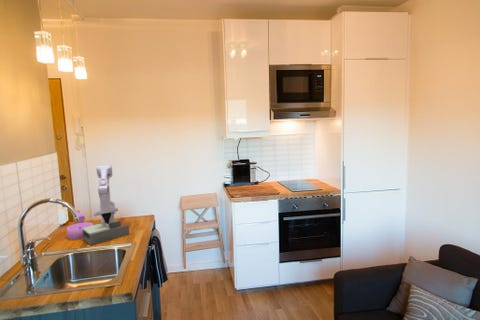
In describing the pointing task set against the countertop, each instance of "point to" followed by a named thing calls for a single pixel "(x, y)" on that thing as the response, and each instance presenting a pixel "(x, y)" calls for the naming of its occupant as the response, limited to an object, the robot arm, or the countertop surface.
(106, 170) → the robot arm
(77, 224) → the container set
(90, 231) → the lid
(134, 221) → the countertop surface
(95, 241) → the housing
